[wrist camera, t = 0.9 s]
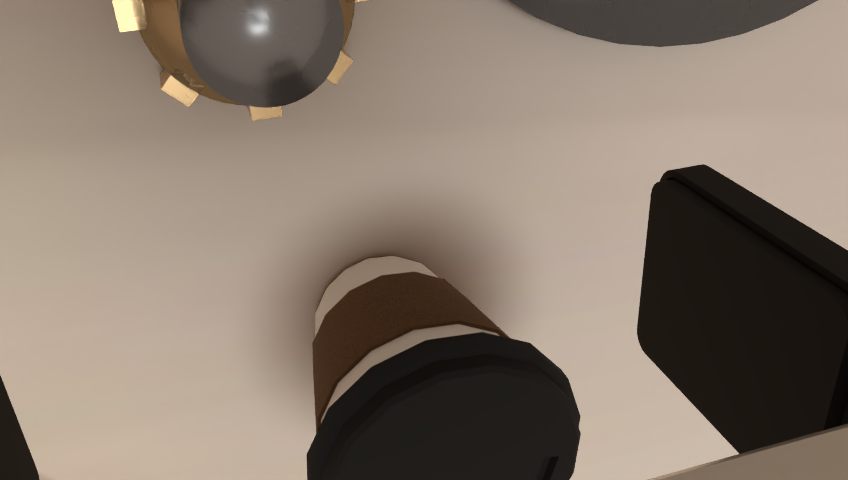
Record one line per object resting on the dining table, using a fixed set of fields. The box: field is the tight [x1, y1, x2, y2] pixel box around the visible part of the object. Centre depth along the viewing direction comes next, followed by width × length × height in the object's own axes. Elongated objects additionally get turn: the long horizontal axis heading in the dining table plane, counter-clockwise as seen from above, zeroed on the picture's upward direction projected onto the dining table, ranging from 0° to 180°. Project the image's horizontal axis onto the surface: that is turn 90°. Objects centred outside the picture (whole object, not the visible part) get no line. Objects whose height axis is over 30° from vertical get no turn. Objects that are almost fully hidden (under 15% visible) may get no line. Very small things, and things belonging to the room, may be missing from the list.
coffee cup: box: [307, 256, 581, 480], centre depth 34 cm, size 11×11×12 cm
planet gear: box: [112, 0, 368, 121], centre depth 27 cm, size 9×9×7 cm
